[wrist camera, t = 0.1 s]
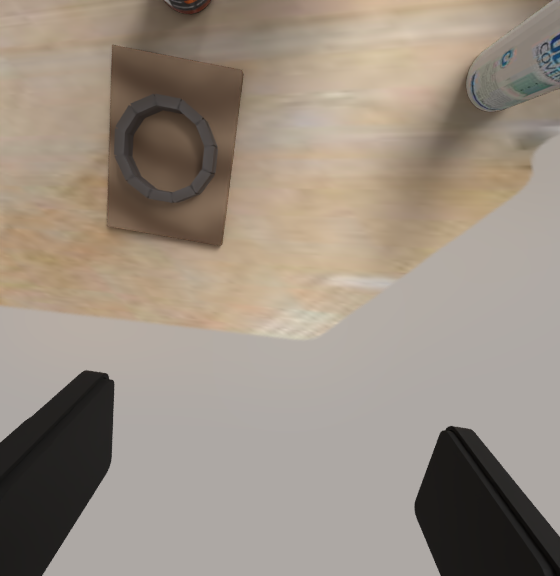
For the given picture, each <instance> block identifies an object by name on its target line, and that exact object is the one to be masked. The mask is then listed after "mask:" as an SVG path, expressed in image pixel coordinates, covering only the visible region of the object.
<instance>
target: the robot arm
mask: <svg viewBox="0 0 560 576" xmlns="http://www.w3.org/2000/svg"><path fill="white" fill-rule="evenodd" d="M113 405H114V381H113V380H110V379H109V376H108V374H106V373H101V372H93V371H83V372H82V373H81V374H79V375H78V376H77V377H76V378H75V379H74V380H72V381H71V382H70V383H69V384H68V385H67V386H66V387H65V388H63V389H62V390H61V391H60V392H59V393H58V394H57V395H56V396H54V397H53V398H52V399H51V400H50V401H49V402H48V403H47V404H45V405H44V406H43V407H42V408H41V409H40V410H39V411H37V412H36V413H35V414H34V415H33V416H32V417H30V418H29V419H27V420H26V421H24V422H23V423H22V424H21V425H20V426H19V427H18V428H17V429H15V430H14V431H13V432H12V433H11V434H10V435H9V436H7V437H6V438H5V439H4V440H3V441H2V442H0V576H42V575H43V573H44V572H45V570H46V568H47V567H48V565H49V564H50V562H51V561H52V559H53V557H54V556H55V554H56V553H57V551H58V549H59V548H60V546H61V545H62V543H63V542H64V540H65V538H66V537H67V535H68V533H69V532H70V530H71V529H72V527H73V526H74V524H75V522H76V521H77V519H78V517H79V516H80V515H81V513H82V511H83V510H84V508H85V507H86V505H87V503H88V502H89V500H90V499H91V497H92V495H93V494H94V492H95V491H96V489H97V488H98V486H99V484H100V483H101V481H102V480H103V478H104V476H105V475H106V473H107V471H108V469H109V466H110V463H111V457H112V433H113V432H112V431H113ZM415 515H416V517H417V520H418V522H419V525H420V527H421V530H422V532H423V534H424V537H425V539H426V541H427V544H428V546H429V549H430V551H431V553H432V556H433V558H434V561H435V563H436V565H437V568H438V570H439V573H440V575H441V576H560V537H559V536H558V534H557V533H556V532H555V531H554V529H553V528H552V527H551V526H550V524H549V523H548V522H547V521H546V519H545V518H544V517H543V516H542V515H541V513H540V512H539V511H538V510H537V509H536V507H535V506H534V505H533V504H532V502H531V501H530V500H529V499H528V498H527V496H526V495H525V494H524V493H523V492H522V490H521V489H520V488H519V486H518V485H517V484H516V483H515V481H514V480H513V479H512V478H511V477H510V475H509V474H508V473H507V472H506V470H505V469H504V468H503V467H502V465H501V464H500V463H499V462H498V461H497V459H496V458H495V457H494V456H493V454H492V453H491V452H490V451H489V449H488V448H487V447H486V446H485V445H484V443H483V442H482V441H481V440H480V438H479V437H478V436H477V435H476V433H475V432H474V431H473V430H471V429H466V428H460V427H453V426H450V427H448V428H446V430H445V431H442V432H441V433H440V435H439V437H438V440H437V443H436V446H435V448H434V451H433V454H432V457H431V459H430V462H429V465H428V468H427V470H426V473H425V476H424V479H423V481H422V484H421V487H420V490H419V492H418V495H417V498H416V501H415Z"/></svg>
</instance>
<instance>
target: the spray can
mask: <svg viewBox="0 0 560 576" xmlns="http://www.w3.org/2000/svg"><path fill="white" fill-rule="evenodd" d="M559 88H560V0H552V1H551V2H550V3H548V4H547V5H546V6H544V7H543V8H541V9H540V10H539V11H537V12H536V13H535V14H533V15H532V16H530V17H529V18H528V19H526V20H525V21H524V22H522V23H521V24H520V25H518V26H517V27H515V28H514V29H513V30H511V31H510V32H509V33H507V34H506V35H504V36H503V37H502V38H500V39H499V40H498V41H496V42H495V43H493V44H492V45H491V46H489V47H488V48H487V49H485V50H484V51H482V52H481V53H480V55H479V56H478V57H477V58H476V59H475V60H474V62H473V63H472V65H471V67H470V69H469V72H468V75H467V81H466V89H467V94H468V96H469V98H470V100H471V102H472V103H473V104H474V105H475V106H476V107H477V108H479V109H481V110H483V111H488V112H493V111H501V110H503V109H506V108H509V107H511V106H514V105H517V104H519V103H522V102H525V101H527V100H530V99H533V98H535V97H538V96H541V95H543V94H546V93H549V92H551V91H554V90H557V89H559Z"/></svg>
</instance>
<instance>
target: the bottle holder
mask: <svg viewBox="0 0 560 576" xmlns="http://www.w3.org/2000/svg"><path fill="white" fill-rule="evenodd" d="M242 82H243V71H242V70H239V69H234V68H229V67H223V66H218V65H213V64H208V63H203V62H198V61H193V60H188V59H183V58H177V57H172V56H167V55H162V54H157V53H152V52H147V51H142V50H137V49H132V48H126V47H121V46H116V45H112V69H111V105H110V141H109V177H108V213H107V226H109V227H115V228H121V229H126V230H132V231H138V232H144V233H150V234H155V235H161V236H167V237H173V238H179V239H184V240H190V241H196V242H202V243H208V244H213V245H219V246H221V245H222V242H223V234H224V226H225V218H226V210H227V202H228V194H229V186H230V178H231V170H232V162H233V154H234V146H235V138H236V130H237V122H238V114H239V106H240V98H241V90H242Z"/></svg>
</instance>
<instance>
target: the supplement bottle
mask: <svg viewBox="0 0 560 576" xmlns="http://www.w3.org/2000/svg"><path fill="white" fill-rule="evenodd" d="M164 1H165V2H166V3H167V4H168V5H169V6H170V7H171V8H173V9H174V10H176V11H178V12H181V13H185V14H193V13H197V12H199V11H201V10H203V9H204V8H205V7H206V6H207V5H208V4H209V3H210V1H211V0H164Z"/></svg>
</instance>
